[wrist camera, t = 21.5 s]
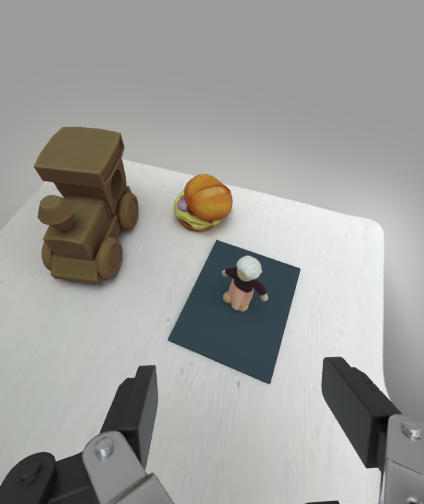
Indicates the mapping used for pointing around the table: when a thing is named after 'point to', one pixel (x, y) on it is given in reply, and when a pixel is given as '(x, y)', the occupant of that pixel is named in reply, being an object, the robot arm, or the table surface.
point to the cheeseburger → (203, 203)
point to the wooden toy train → (85, 204)
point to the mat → (237, 314)
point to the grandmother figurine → (244, 283)
